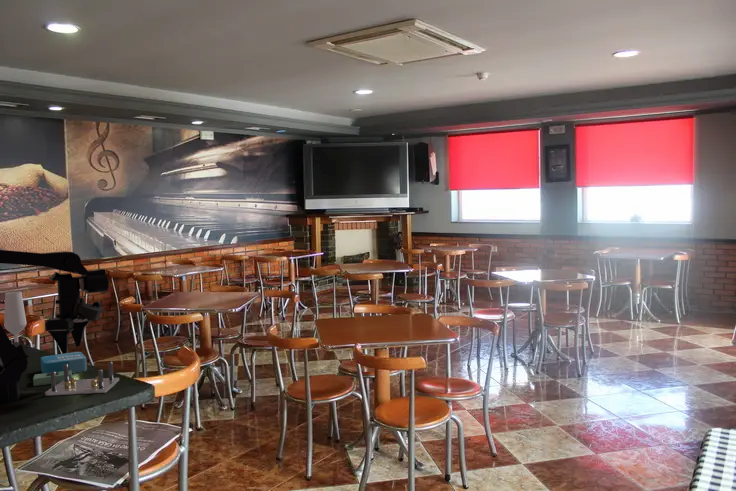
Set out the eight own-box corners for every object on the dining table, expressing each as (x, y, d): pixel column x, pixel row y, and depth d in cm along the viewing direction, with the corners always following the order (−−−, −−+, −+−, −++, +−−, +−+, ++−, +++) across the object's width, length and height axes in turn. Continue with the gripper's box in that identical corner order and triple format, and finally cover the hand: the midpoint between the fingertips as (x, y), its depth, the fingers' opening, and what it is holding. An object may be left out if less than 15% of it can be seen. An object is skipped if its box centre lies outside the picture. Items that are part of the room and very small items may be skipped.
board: (71, 382, 182) (71, 373, 182) (33, 387, 178) (33, 377, 178) (72, 378, 187) (71, 368, 187) (35, 382, 183) (34, 373, 183)
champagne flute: (33, 360, 211) (29, 291, 210) (16, 365, 205) (12, 293, 203) (18, 359, 213) (14, 291, 212) (1, 364, 207) (-3, 293, 205)
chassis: (105, 392, 169) (104, 371, 169) (45, 395, 167) (44, 374, 167) (119, 380, 181) (118, 360, 181) (63, 383, 179) (61, 363, 179)
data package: (80, 351, 202) (87, 357, 192) (81, 364, 203) (87, 371, 193) (39, 356, 196) (44, 363, 186) (40, 370, 196) (45, 378, 186)
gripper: (85, 298, 166) (87, 355, 166) (109, 290, 184) (112, 341, 185) (42, 300, 165) (45, 357, 166) (71, 291, 183) (74, 343, 184)
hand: (71, 349), depth 175 cm, fingers open, 9 cm apart
